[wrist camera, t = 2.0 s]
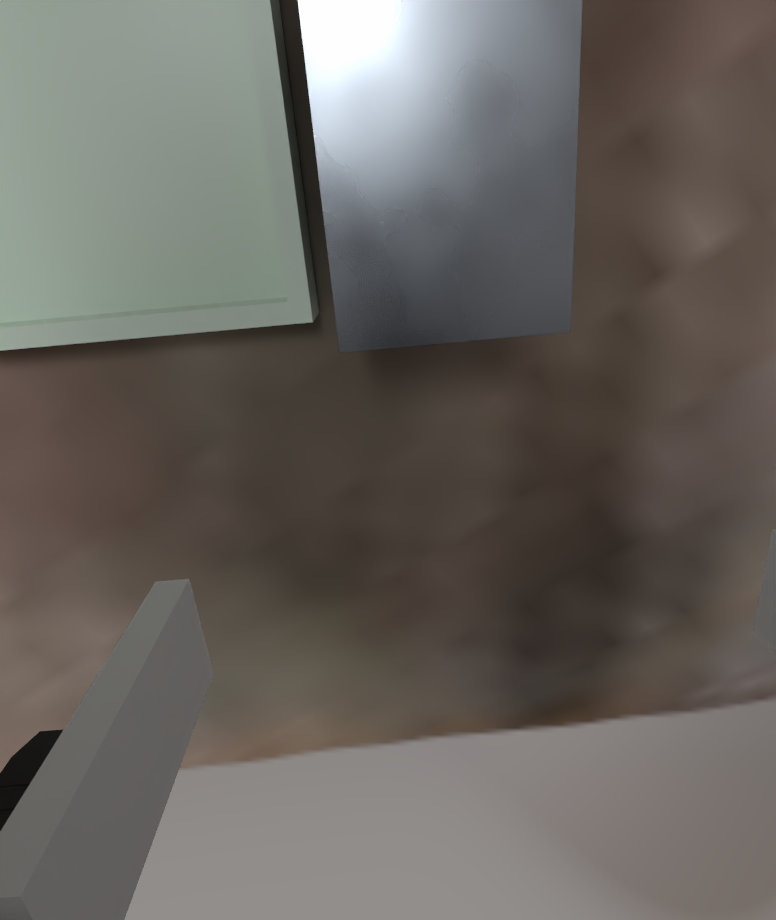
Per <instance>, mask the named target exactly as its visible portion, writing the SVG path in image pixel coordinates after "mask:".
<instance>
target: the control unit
mask: <svg viewBox="0 0 776 920" xmlns="http://www.w3.org/2000/svg"><path fill="white" fill-rule="evenodd" d="M298 7H299V15H300V24H301V32H302V41H303V49H304V58H305V66H306V74H307V83H308V91H309V100H310V108H311V117H312V125H313V133H314V142H315V150H316V159H317V167H318V176H319V184H320V192H321V201H322V209H323V218H324V226H325V235H326V243H327V251H328V260H329V268H330V277H331V285H332V294H333V302H334V311H335V319H336V327H337V336H338V344H339V353H342V352H354V351H365V350H376V349H387V348H398V347H409V346H420V345H432V344H443V343H454V342H465V341H476V340H487V339H498V338H510V337H521V336H532V335H543V334H554V333H565V332H571V311H572V282H573V254H574V225H575V196H576V167H577V138H578V110H579V81H580V52H581V23H582V0H298Z"/></svg>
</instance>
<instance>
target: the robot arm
mask: <svg viewBox="0 0 776 920" xmlns="http://www.w3.org/2000/svg"><path fill="white" fill-rule="evenodd" d="M753 630H754V631H755V632H756V633H757V634H758V635H759V637H760V638H761V639H762V640H763V641H764V642H765V643H766V644H767V645H768V646H769V647H770V648H771V649H772V650H773V651H774V653H775V654H776V529H773V530H772V534H771V539H770V544H769V550H768V555H767V560H766V565H765V570H764V576H763V581H762V586H761V591H760V596H759V602H758V607H757V612H756V617H755V623H754V628H753ZM213 674H214V673H213V669H212V665H211V662H210V658H209V654H208V650H207V646H206V642H205V638H204V634H203V630H202V627H201V623H200V619H199V615H198V611H197V607H196V603H195V599H194V595H193V592H192V588H191V584H190V580H189V579H180V580H168V581H156V582H155V583H154V585H153V587H152V588H151V590H150V592H149V593H148V595H147V596H146V598H145V600H144V601H143V603H142V604H141V606H140V608H139V609H138V611H137V612H136V614H135V616H134V617H133V619H132V620H131V622H130V624H129V625H128V627H127V629H126V630H125V632H124V633H123V635H122V637H121V638H120V640H119V641H118V643H117V645H116V646H115V648H114V649H113V651H112V653H111V654H110V656H109V657H108V659H107V661H106V662H105V664H104V666H103V667H102V669H101V670H100V672H99V674H98V675H97V677H96V678H95V680H94V682H93V683H92V685H91V686H90V688H89V690H88V691H87V693H86V694H85V696H84V698H83V699H82V701H81V703H80V704H79V706H78V707H77V709H76V711H75V712H74V714H73V715H72V717H71V719H70V720H69V722H68V723H67V725H66V727H65V728H64V730H53V731H41V732H39V733H38V734H37V735H36V736H34V737H33V738H32V739H31V740H30V741H29V742H28V743H27V744H26V745H25V746H23V747H22V748H21V749H20V750H19V751H18V752H17V753H16V754H15V755H13V756H12V757H11V759H10V760H9V762H8V763H7V764H6V766H5V767H4V769H3V770H2V772H1V773H0V920H124V919H125V916H126V913H127V910H128V908H129V905H130V902H131V900H132V897H133V894H134V891H135V889H136V886H137V883H138V880H139V877H140V875H141V872H142V869H143V867H144V864H145V861H146V858H147V855H148V853H149V850H150V847H151V845H152V842H153V839H154V836H155V833H156V831H157V828H158V825H159V822H160V820H161V817H162V814H163V812H164V809H165V806H166V803H167V800H168V798H169V795H170V792H171V789H172V787H173V784H174V781H175V778H176V776H177V773H178V770H179V768H180V765H181V762H182V759H183V757H184V754H185V751H186V748H187V746H188V743H189V740H190V737H191V735H192V732H193V729H194V726H195V724H196V721H197V718H198V715H199V713H200V710H201V707H202V704H203V702H204V699H205V696H206V693H207V691H208V688H209V685H210V682H211V680H212V677H213Z"/></svg>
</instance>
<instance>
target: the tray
mask: <svg viewBox="0 0 776 920" xmlns="http://www.w3.org/2000/svg"><path fill="white" fill-rule="evenodd" d="M318 314H319V307H318V299H317V291H316V283H315V275H314V268H313V260H312V252H311V244H310V237H309V229H308V221H307V213H306V205H305V198H304V190H303V182H302V174H301V167H300V159H299V151H298V143H297V135H296V128H295V120H294V112H293V104H292V97H291V89H290V81H289V73H288V65H287V58H286V50H285V42H284V34H283V27H282V19H281V11H280V3H279V0H0V351H2V350H13V349H24V348H35V347H46V346H57V345H68V344H79V343H90V342H101V341H112V340H123V339H134V338H145V337H156V336H167V335H178V334H189V333H200V332H211V331H222V330H233V329H244V328H255V327H267V326H278V325H289V324H300V323H311V322H313V321H314V320H315V318H316V317H317V315H318Z"/></svg>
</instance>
